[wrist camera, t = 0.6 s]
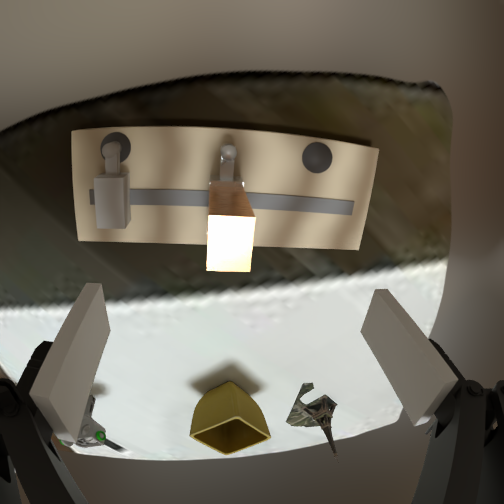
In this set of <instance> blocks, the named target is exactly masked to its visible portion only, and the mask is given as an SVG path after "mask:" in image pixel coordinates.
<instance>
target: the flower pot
mask: <svg viewBox="0 0 504 504" xmlns="http://www.w3.org/2000/svg"><path fill="white" fill-rule="evenodd" d="M189 436H190V437H192V438H193V439H195V440H196V441H198V442H200V443H202V444H204V445H206V446H208V447H210V448H212V449H214V450H216V451H218V452H219V453H222V454H224V455H229V454H232V453H235V452H238V451H241V450H243V449H246V448H248V447H251V446H254V445H256V444H259V443H261V442H264V441H266V440H268V439H270V438H271V435H270V432H269V429H268V426H267V424H266V421H265V418H264V415H263V413H262V411H261V409H260V407H259V406H258V405H257V403H256V402H255V401H254V400H253V399H252V398H251V397H250V396H249V395H248V394H247V393H246V392H244V391H243V390H242V389H241V388H239V387H238V386H237V385H236V384H234V383H233V382H231V381H229V382H226V383H224V384H222V385H221V386H219V387H217V388H214V389H212V390H210V391H208V392H207V393H206V394H205V395H204V396H203V397H202V398H201V399H200V400H199V402H198V404H197V405H196V407H195V410H194V414H193V419H192V424H191V430H190V435H189Z"/></svg>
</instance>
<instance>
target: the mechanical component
mask: <svg viewBox="0 0 504 504" xmlns="http://www.w3.org/2000/svg"><path fill="white" fill-rule="evenodd" d="M92 398H93V397H92V396H91V395H89V398H88V401H87V404H86V408H85V412H84V415H83V419H82V423H81V426H80V430H79V434H78V438H77V442H76V443H74V442H69V441H65V440H61V439H59V440H60V443H61V444H63V445H66V446H72V445H73V443H74V444H76V445H77V446H80V447H83V448H87V447H93V446H101V445H104V441H105V439H106V435H105V432H106V431H105V428H103V427H102V426H101V425H100V424H98V423H97V422H96V421H94V420H93V419H92V417H91V415H92V411H93V407H94V404H95V400H96V399H94V400H92ZM96 441H97V442H96ZM94 442H96V443H94Z"/></svg>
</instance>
